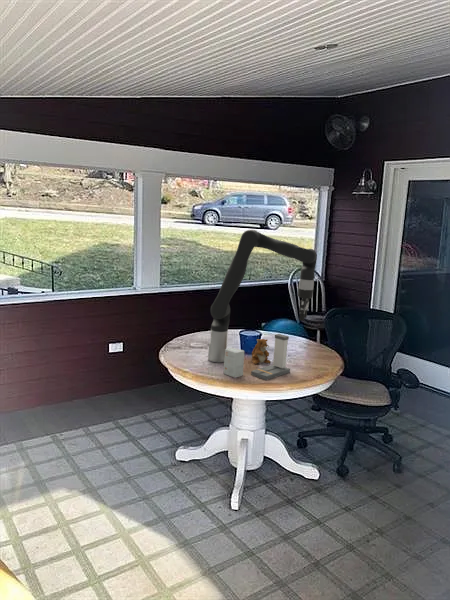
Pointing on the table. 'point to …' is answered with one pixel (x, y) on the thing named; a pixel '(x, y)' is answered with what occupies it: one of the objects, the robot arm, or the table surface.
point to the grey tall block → (280, 350)
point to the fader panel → (269, 372)
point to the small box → (234, 362)
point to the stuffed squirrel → (260, 352)
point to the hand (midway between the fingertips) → (302, 318)
